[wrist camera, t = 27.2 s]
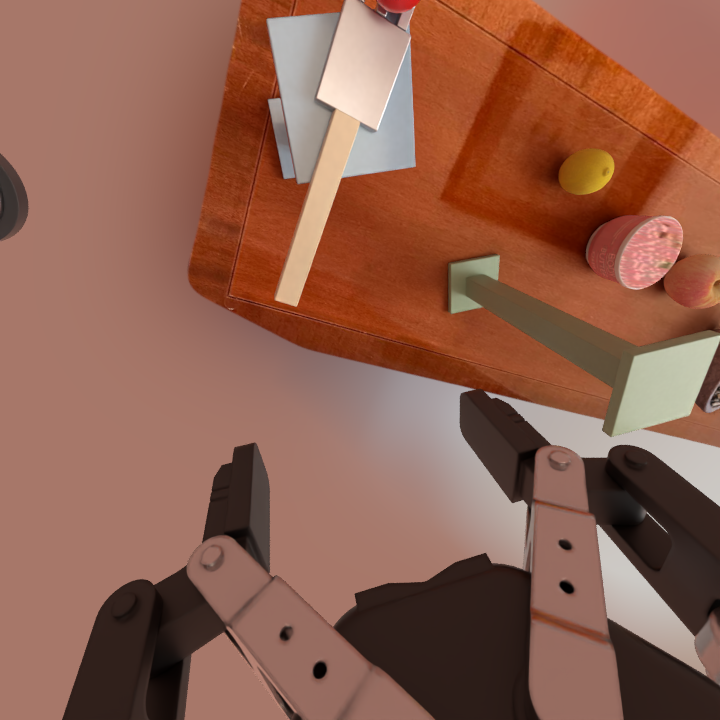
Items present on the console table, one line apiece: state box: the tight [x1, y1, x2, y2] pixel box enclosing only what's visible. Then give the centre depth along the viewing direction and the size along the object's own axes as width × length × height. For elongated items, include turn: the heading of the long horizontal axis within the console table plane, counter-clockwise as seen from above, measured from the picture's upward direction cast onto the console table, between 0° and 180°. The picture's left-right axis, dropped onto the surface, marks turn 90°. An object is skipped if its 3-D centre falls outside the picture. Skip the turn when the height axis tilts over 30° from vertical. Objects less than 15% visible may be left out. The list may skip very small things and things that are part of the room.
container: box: [586, 215, 683, 289], centre depth 56 cm, size 10×10×8 cm
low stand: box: [266, 9, 415, 184], centre depth 32 cm, size 8×8×25 cm
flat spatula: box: [274, 0, 420, 307], centre depth 21 cm, size 20×4×4 cm, turn 157°
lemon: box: [558, 148, 614, 195], centre depth 48 cm, size 6×6×8 cm
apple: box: [664, 254, 720, 309], centre depth 62 cm, size 9×9×8 cm
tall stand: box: [448, 254, 720, 437], centre depth 43 cm, size 8×8×32 cm
